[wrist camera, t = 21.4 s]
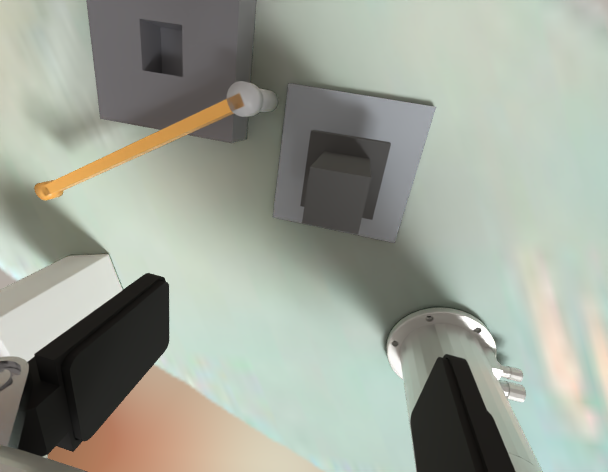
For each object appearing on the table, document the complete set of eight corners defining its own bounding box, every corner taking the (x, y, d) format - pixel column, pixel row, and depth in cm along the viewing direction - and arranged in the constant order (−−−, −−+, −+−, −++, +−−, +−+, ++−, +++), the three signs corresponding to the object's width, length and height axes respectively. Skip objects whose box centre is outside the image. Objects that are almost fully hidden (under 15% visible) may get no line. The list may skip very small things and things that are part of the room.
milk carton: (68, 255, 44) (-122, 349, 27) (109, 253, 42) (-64, 352, 25) (87, 297, 47) (-76, 408, 29) (127, 296, 45) (-20, 413, 28)
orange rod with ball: (255, 77, 25) (249, 75, 24) (268, 109, 26) (262, 109, 24) (42, 179, 33) (28, 182, 31) (57, 202, 34) (44, 206, 32)
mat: (434, 106, 29) (436, 106, 28) (394, 240, 34) (394, 242, 34) (289, 83, 30) (288, 82, 29) (274, 215, 36) (272, 217, 35)
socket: (290, -19, 27) (273, -48, 22) (273, 144, 33) (256, 150, 28) (115, -41, 29) (62, -73, 24) (128, 117, 34) (88, 119, 29)
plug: (387, 139, 30) (401, 158, 19) (371, 206, 33) (374, 257, 22) (317, 127, 31) (290, 139, 20) (307, 194, 33) (279, 238, 22)
